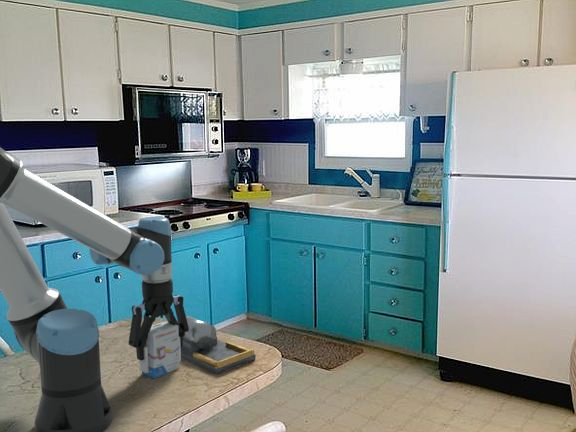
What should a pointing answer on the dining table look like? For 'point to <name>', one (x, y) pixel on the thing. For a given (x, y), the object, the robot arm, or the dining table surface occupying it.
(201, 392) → the dining table surface
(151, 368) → the ink box
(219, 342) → the motor unit
